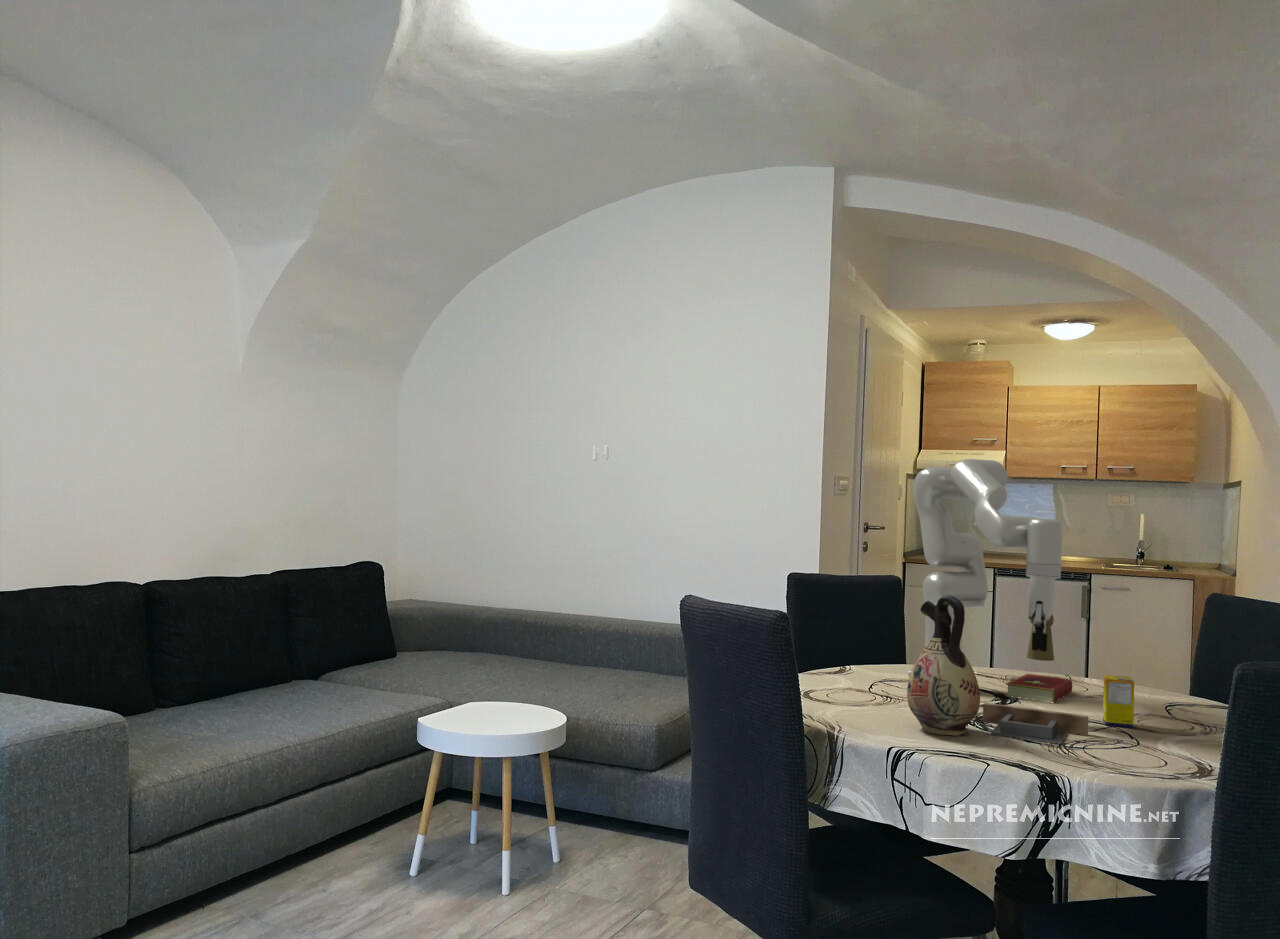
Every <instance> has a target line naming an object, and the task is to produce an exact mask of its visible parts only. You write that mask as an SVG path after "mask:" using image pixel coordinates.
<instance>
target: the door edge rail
mask: <svg viewBox="0 0 1280 939" xmlns="http://www.w3.org/2000/svg"><path fill="white" fill-rule="evenodd" d="M1008 713H1010V714H1014V716H1013V722H1021V723H1028V724H1035V725H1043V726H1047V725H1048V724H1049V722H1050V721H1051V719H1056V720H1058V726H1057V730H1062V731H1067V734H1070V733H1073V734H1072V735H1078V734H1080V736H1085V735H1087V736H1089V715H1084V714H1083V715H1082V714H1077V713H1076V714H1075V713H1070V712H1069V713H1068V712H1061V711H1053V710H1052V711H1051V710H1046V709H1045V710H1044V709H1038V708H1037V709H1036V708H1031V707H1029V708H1028V707H1022V706H1016V705H1007V704H998V703H992V702H983V704H982V722H983V723H984V722H985V723H992V724H997V725H998V724H999V723H1000V722H1001V720H1002V719H1003V718H1004V717H1005V716H1006V715H1007V714H1008Z"/></svg>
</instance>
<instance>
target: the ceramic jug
mask: <svg viewBox="0 0 1280 939" xmlns="http://www.w3.org/2000/svg"><path fill="white" fill-rule="evenodd" d="M949 605H950V606H951V607H952V608H953V613H954V620H953V626H952V633H951V629H950V625H951V623H952V618H951V616H950V614H949V612H948V606H949ZM920 612H921V614H923V615H924V616H925V617H926V616H928V617H930V618H931V619H932V620H933V621H934V622H935V631H934V635H933V637H932V638H931V640H930V642H929V643H928V644H927V646H926V647H925V646H924V648H923V650H922V651H921V653H920V655H919V656H918V658H917V659H916V661H915V663H914V665H913V667H912V668H911V670H912V672H911V674H910V677H909V676H908V677H909V678H908V682H907V683H908V684H907V687H906V697H907V698H906V699H907V703H908V707H909V710H910V711H911V712H912V714H913V715H914V717H915V718H916V719H917V720H918V723H919V725H920V726H921V729H922V731H924V732H925V733H928V734H929V733H930V734H935V735H941V736H955V737H956V736H961V735H963V734H966V733H967V726H968V725H969V724H970V723H971V722H972V721H973V720H974V719H975V717H976V715H978V713H979V710H980V704H981V692H980V688H979V687H980V686H979V682H978V679H977V676H976V674H975V670H974V669H973V667H972V665H971V663H970V662H969V660H968V658H967V657H966V654H965V653H964V652H963V651H961V650H960V640H961V637H962V638H963V631H964V625H965V620H966V618H965V614H966V612H965V607H964V606H963V604H962V603H961V601H960V600H959V599H957V598H956V597H954V596H951V595H947V596H943V597H942V598H940V599H939V600H938V602H937V605H936V606H935V605H934V604H933V603H932V602H930V601H926V602H924V603H923V604H922V605H921V607H920Z"/></svg>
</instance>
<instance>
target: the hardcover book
mask: <svg viewBox="0 0 1280 939" xmlns="http://www.w3.org/2000/svg"><path fill="white" fill-rule="evenodd" d="M1005 686H1007V697H1008V696H1013V697H1021V698H1028V699H1034V700H1040V701H1039V702H1041V701H1047V702H1046V703H1048V701H1049V702H1055V701H1057V700H1058V699H1060V698H1061V699H1063V698H1064V697H1063V696H1065V695H1066V696H1068V695H1069V693H1070V692H1071V693H1072V691H1073V680H1072V679H1071V678H1064V677H1056V676H1048V675H1042V674H1041V675H1040V674H1033V673H1024V674H1023V675H1021V676H1019V677H1017V678H1015V679H1013V680H1011V681H1008V682H1006V683H1005ZM1071 693H1070V694H1071ZM1067 694H1068V695H1067ZM1066 696H1065V697H1066ZM1013 697H1012V698H1013ZM1062 697H1063V698H1062ZM1061 699H1060V700H1061ZM1034 700H1033V701H1034ZM1058 701H1059V700H1058ZM1058 701H1057V702H1058ZM1055 703H1056V702H1055Z"/></svg>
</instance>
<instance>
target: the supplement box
mask: <svg viewBox="0 0 1280 939" xmlns="http://www.w3.org/2000/svg"><path fill="white" fill-rule="evenodd" d="M1102 697H1103V704H1102V705H1103V707H1102V708H1103V709H1102V713H1103V714H1102V721H1103V723H1104V724H1106V725H1105V726H1108V725H1109V726H1112V727H1123V728H1130V729H1133V728H1134V726H1135V725H1134V724H1135V680H1134V679H1133V678H1132V676H1123V675H1122V676H1121V675H1119V676H1118V675H1112V674H1111V675H1110V674H1109V675H1108V674H1104V675H1103V696H1102Z"/></svg>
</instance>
